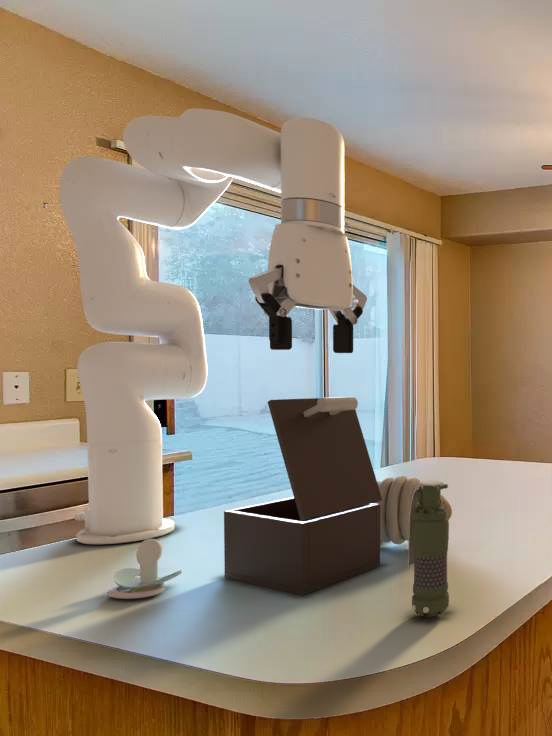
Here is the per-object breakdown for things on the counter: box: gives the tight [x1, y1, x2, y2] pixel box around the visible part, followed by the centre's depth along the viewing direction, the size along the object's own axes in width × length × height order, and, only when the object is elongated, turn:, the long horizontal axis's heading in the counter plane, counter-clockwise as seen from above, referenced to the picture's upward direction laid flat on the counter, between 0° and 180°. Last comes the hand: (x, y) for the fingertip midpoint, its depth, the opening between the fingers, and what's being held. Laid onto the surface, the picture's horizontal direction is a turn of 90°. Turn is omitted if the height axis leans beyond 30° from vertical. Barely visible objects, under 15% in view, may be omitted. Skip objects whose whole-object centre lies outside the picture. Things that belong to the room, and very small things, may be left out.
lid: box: [267, 396, 382, 521], centre depth 77 cm, size 15×13×5 cm
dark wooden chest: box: [223, 496, 381, 596], centre depth 80 cm, size 15×13×9 cm
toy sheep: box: [375, 475, 453, 545], centre depth 93 cm, size 11×17×11 cm, turn 98°
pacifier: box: [106, 538, 182, 600], centre depth 72 cm, size 7×6×6 cm
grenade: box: [408, 480, 450, 618], centre depth 66 cm, size 4×4×15 cm
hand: (313, 351), depth 78 cm, fingers open, 9 cm apart
